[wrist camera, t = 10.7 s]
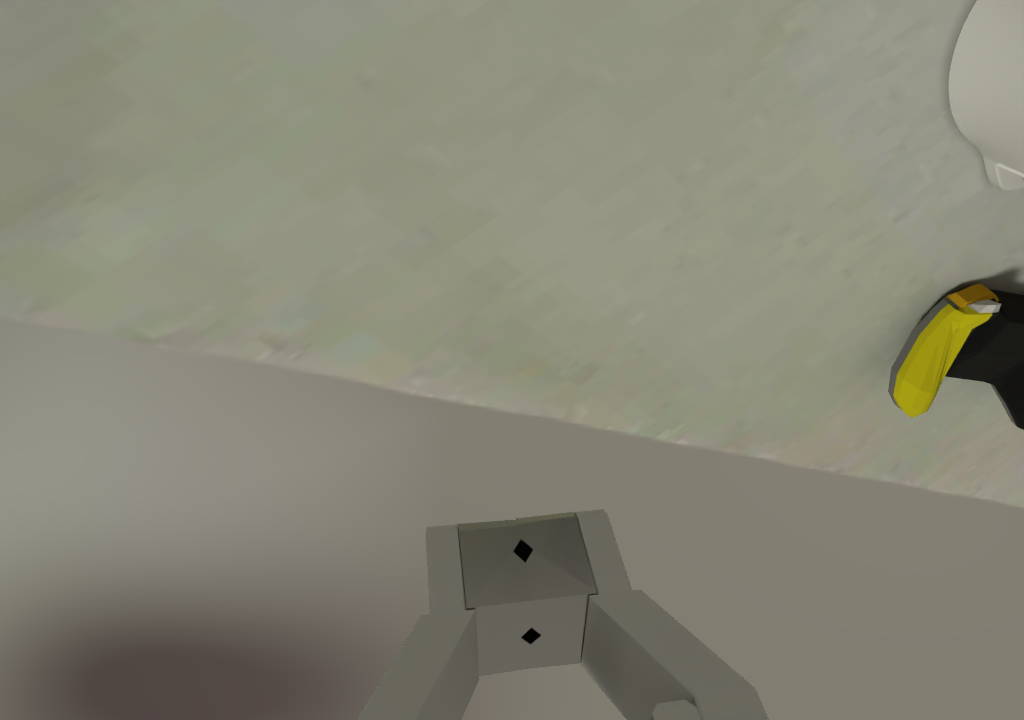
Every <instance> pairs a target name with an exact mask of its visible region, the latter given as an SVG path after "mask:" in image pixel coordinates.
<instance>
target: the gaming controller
mask: <svg viewBox="0 0 1024 720" xmlns="http://www.w3.org/2000/svg"><path fill="white" fill-rule="evenodd" d="M945 376H947V377H954V378H961V379H969V380H976V381H983V382H987V383H990V384H991V385H992V387H993V389H994V390H995V392H996V394H997V396H998V397H999V399H1000V401H1001V403H1002V405H1003V406H1004V408H1005V410H1006V412H1007V414H1008V416H1009V418H1010V419H1011V421H1012V422H1013V423H1014V424H1015V425H1016V426H1017V427H1019V428H1021V429H1023V430H1024V296H1023V295H1018V294H1012V293H1006V292H1001V291H995V290H990V289H988V288H986V287H985V286H984V285H983V284H981V283H980V284H976V285H973V286H970V287H968V288H966V289H964V290H961V291H958V292H955V293H951V294H948V295H947V296H945V297H944V298H943V299H942V300H941V301H940V302H939V303H938V304H937V305H936V306H935V307H934V308H932V309H931V310H930V311H929V312H928V314H927V315H926V316H925V317H924V318H923V320H922V321H921V322H920V323H919V324H918V325H917V326H916V327H915V329H914V330H913V332H912V333H911V335H910V337H909V338H908V340H907V342H906V344H905V345H904V347H903V349H902V351H901V352H900V354H899V356H898V357H897V359H896V361H895V363H894V364H893V366H892V368H891V375H890V383H889V390H888V392H889V394H890V396H891V398H892V400H893V402H894V403H895V405H896V406H898V407H899V408H900V409H901V410H903V411H904V412H905V413H906V414H907V415H908V416H910V417H911V418H913V417H915V416H918V415H920V414H922V413H924V412H927V411H928V409H929V407H930V405H931V404H932V402H933V400H934V398H935V396H936V394H937V392H938V390H939V388H940V385H941V383H942V380H943V379H944V377H945Z"/></svg>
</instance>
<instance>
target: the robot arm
mask: <svg viewBox="0 0 1024 720" xmlns="http://www.w3.org/2000/svg"><path fill="white" fill-rule="evenodd" d="M949 101H950V107H951V111H952V115H953V118H954V120H955V122H956V124H957V126H958V128H959V130H960V131H961V132H962V134H963V135H964V136H965V137H966V138H967V139H968V140H969V141H970V142H971V143H972V144H973V145H974V146H975V147H976V148H977V149H978V150H979V151H980V152H981V154H982V155H983V158H984V163H985V168H986V172H987V176H988V179H989V181H990V182H991V184H992V185H993V186H995V187H998V188H1000V189H1003V190H1005V191H1014V190H1019V189H1023V188H1024V0H977V1H976V3H975V5H974V6H973V8H972V10H971V12H970V14H969V16H968V18H967V20H966V22H965V24H964V26H963V28H962V31H961V33H960V36H959V38H958V41H957V44H956V47H955V50H954V54H953V58H952V63H951V68H950V75H949ZM426 548H427V567H428V586H429V604H430V605H429V606H430V614H428V615H422V616H420V618H419V620H418V621H417V623H416V624H415V626H414V628H413V629H412V631H411V632H410V634H409V636H408V637H407V639H406V641H405V642H404V644H403V646H402V647H401V649H400V651H399V652H398V654H397V655H396V657H395V659H394V660H393V662H392V663H391V665H390V667H389V668H388V670H387V671H386V673H385V675H384V676H383V678H382V680H381V681H380V683H379V684H378V686H377V688H376V689H375V691H374V693H373V694H372V696H371V698H370V699H369V701H368V702H367V704H366V706H365V707H364V709H363V710H362V712H361V714H360V715H359V717H358V719H357V720H461V719H462V717H463V715H464V712H465V710H466V708H467V706H468V703H469V701H470V699H471V697H472V694H473V692H474V690H475V688H476V685H477V683H478V681H479V676H483V675H490V674H495V673H502V672H509V671H515V670H522V669H528V668H537V667H547V666H557V665H567V664H577V663H581V666H582V667H583V669H584V670H585V671H586V672H587V673H588V674H589V676H590V677H591V678H592V679H593V680H594V681H595V683H596V684H597V685H598V686H599V687H600V688H601V690H602V691H603V692H604V693H605V694H606V696H607V697H608V698H609V699H610V700H611V702H612V703H613V704H614V705H615V706H616V707H617V709H618V710H619V711H620V712H621V713H622V714H623V716H624V717H625V718H626V719H627V720H769V719H768V717H767V714H766V712H765V710H764V707H763V705H762V703H761V701H760V698H759V696H758V693H757V691H756V689H755V688H754V687H753V686H752V685H751V684H750V683H749V682H747V681H746V680H745V679H744V678H743V677H742V676H740V675H739V674H738V673H737V672H736V671H735V670H734V669H732V668H731V667H730V666H729V665H728V664H727V663H725V662H724V661H723V660H722V659H721V658H720V657H718V656H717V655H716V654H715V653H714V652H712V651H711V650H710V649H709V648H708V647H707V646H706V645H704V644H703V643H702V642H701V641H700V640H699V639H697V638H696V637H695V636H694V635H693V634H692V633H691V632H689V631H688V630H687V629H686V628H685V627H684V626H682V625H681V624H680V623H679V622H678V621H677V620H675V619H674V618H673V617H672V616H671V615H670V614H668V613H667V612H666V611H665V610H663V608H661V607H660V606H659V605H658V604H657V603H656V602H655V601H653V600H652V599H651V598H650V597H649V596H648V595H646V594H645V593H644V592H643V591H642V590H632V588H631V585H630V582H629V579H628V576H627V573H626V570H625V567H624V564H623V561H622V558H621V555H620V551H619V548H618V545H617V542H616V539H615V536H614V533H613V530H612V527H611V524H610V521H609V517H608V514H607V513H606V512H605V511H604V510H603V509H602V510H593V511H582V512H575V513H573V512H568V513H559V514H551V515H543V516H534V517H525V518H517V519H516V520H505V521H492V522H479V523H466V524H458V529H457V525H444V526H434V527H427V530H426Z"/></svg>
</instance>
